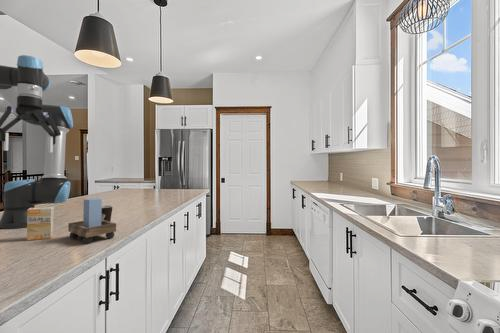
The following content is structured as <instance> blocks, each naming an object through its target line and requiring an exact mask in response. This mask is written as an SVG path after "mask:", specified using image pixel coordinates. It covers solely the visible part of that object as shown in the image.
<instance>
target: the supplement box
mask: <svg viewBox="0 0 500 333" xmlns="http://www.w3.org/2000/svg"><path fill="white" fill-rule="evenodd" d="M54 210H55V207H54V206H50V207H49V206H47V207H44V206H43V207H35V208H29V209H28V212H27V227H26V241H36V240H38V241H39V240H46V239H49V240H51V239H52V238H53V236H54V217H55V216H54V215H55V214H54Z"/></svg>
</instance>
